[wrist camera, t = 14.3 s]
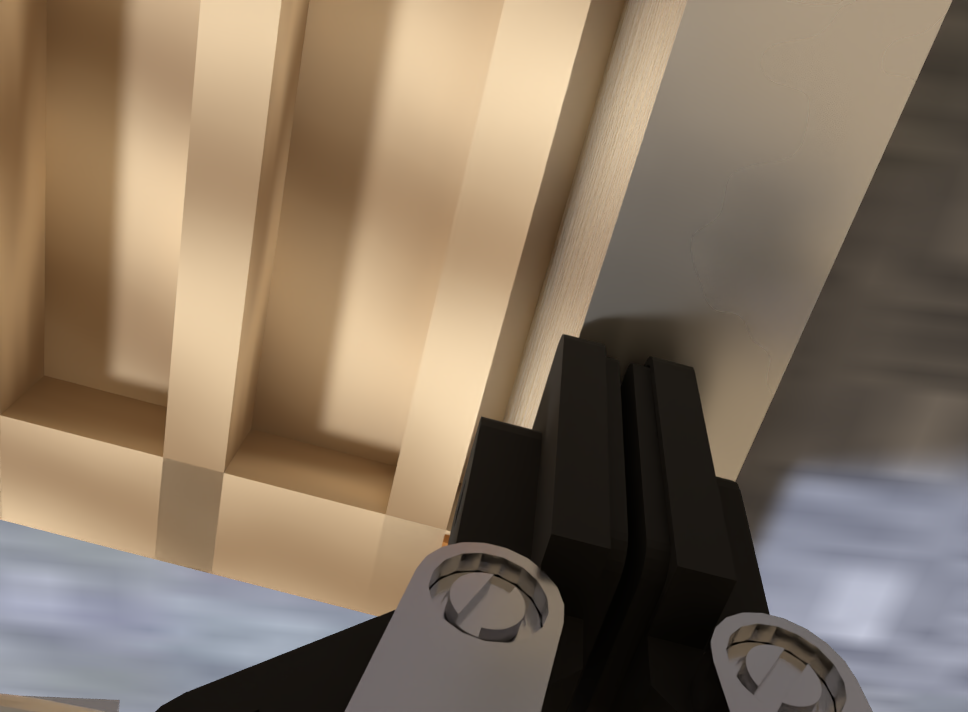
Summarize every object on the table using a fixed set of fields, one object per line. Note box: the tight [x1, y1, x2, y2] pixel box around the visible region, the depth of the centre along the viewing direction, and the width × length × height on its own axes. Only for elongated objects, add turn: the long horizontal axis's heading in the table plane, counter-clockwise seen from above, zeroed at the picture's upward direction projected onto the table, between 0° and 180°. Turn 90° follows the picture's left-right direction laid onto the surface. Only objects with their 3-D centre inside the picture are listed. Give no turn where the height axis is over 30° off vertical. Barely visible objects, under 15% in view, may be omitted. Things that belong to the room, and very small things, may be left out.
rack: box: [0, 0, 625, 616], centre depth 20 cm, size 22×18×3 cm
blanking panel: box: [503, 0, 952, 482], centre depth 16 cm, size 14×3×10 cm, turn 167°
